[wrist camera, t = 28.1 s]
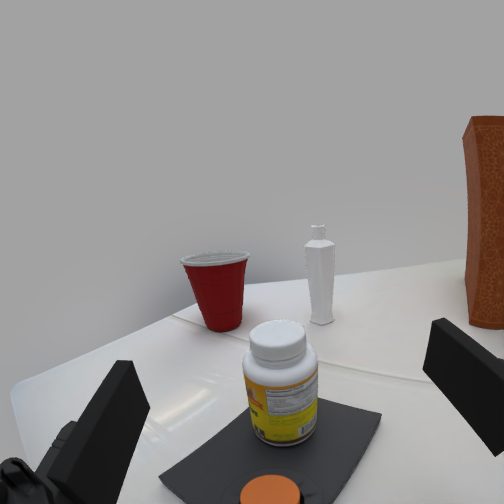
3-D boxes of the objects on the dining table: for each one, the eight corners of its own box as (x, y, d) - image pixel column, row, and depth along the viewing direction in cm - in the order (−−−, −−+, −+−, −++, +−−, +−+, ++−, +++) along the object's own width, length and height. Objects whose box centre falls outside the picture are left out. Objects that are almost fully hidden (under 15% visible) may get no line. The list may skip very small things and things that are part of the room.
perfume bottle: (332, 327, 41) (329, 228, 37) (305, 324, 43) (299, 228, 40) (339, 314, 44) (337, 223, 41) (315, 312, 47) (310, 223, 43)
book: (464, 278, 49) (462, 137, 42) (495, 280, 43) (495, 138, 37) (469, 327, 31) (472, 114, 25) (513, 330, 26) (521, 117, 20)
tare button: (277, 535, 10) (276, 527, 10) (232, 510, 12) (227, 500, 12) (310, 497, 13) (311, 487, 12) (265, 478, 15) (263, 466, 14)
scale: (284, 566, 8) (283, 558, 8) (160, 484, 16) (147, 466, 16) (382, 422, 21) (387, 400, 20) (275, 391, 28) (273, 370, 28)
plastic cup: (268, 313, 49) (261, 245, 46) (237, 344, 39) (225, 264, 37) (216, 307, 54) (206, 246, 51) (180, 332, 44) (165, 262, 42)
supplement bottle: (255, 408, 24) (242, 316, 22) (313, 404, 24) (312, 310, 22) (250, 450, 19) (232, 354, 17) (319, 446, 18) (322, 348, 16)
